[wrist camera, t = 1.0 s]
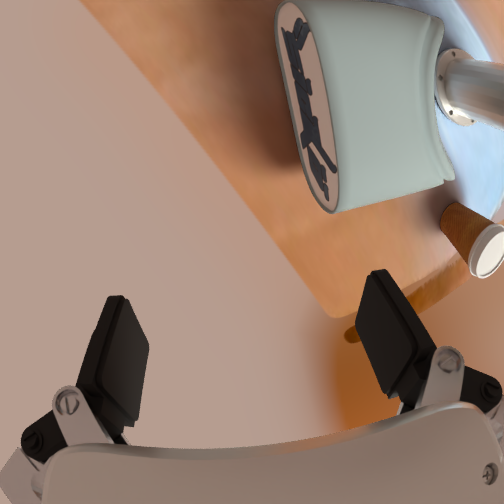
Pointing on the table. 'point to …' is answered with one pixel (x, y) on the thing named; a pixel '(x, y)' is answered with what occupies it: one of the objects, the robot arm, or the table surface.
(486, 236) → the disposable coffee cup
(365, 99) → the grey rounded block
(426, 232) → the table surface
